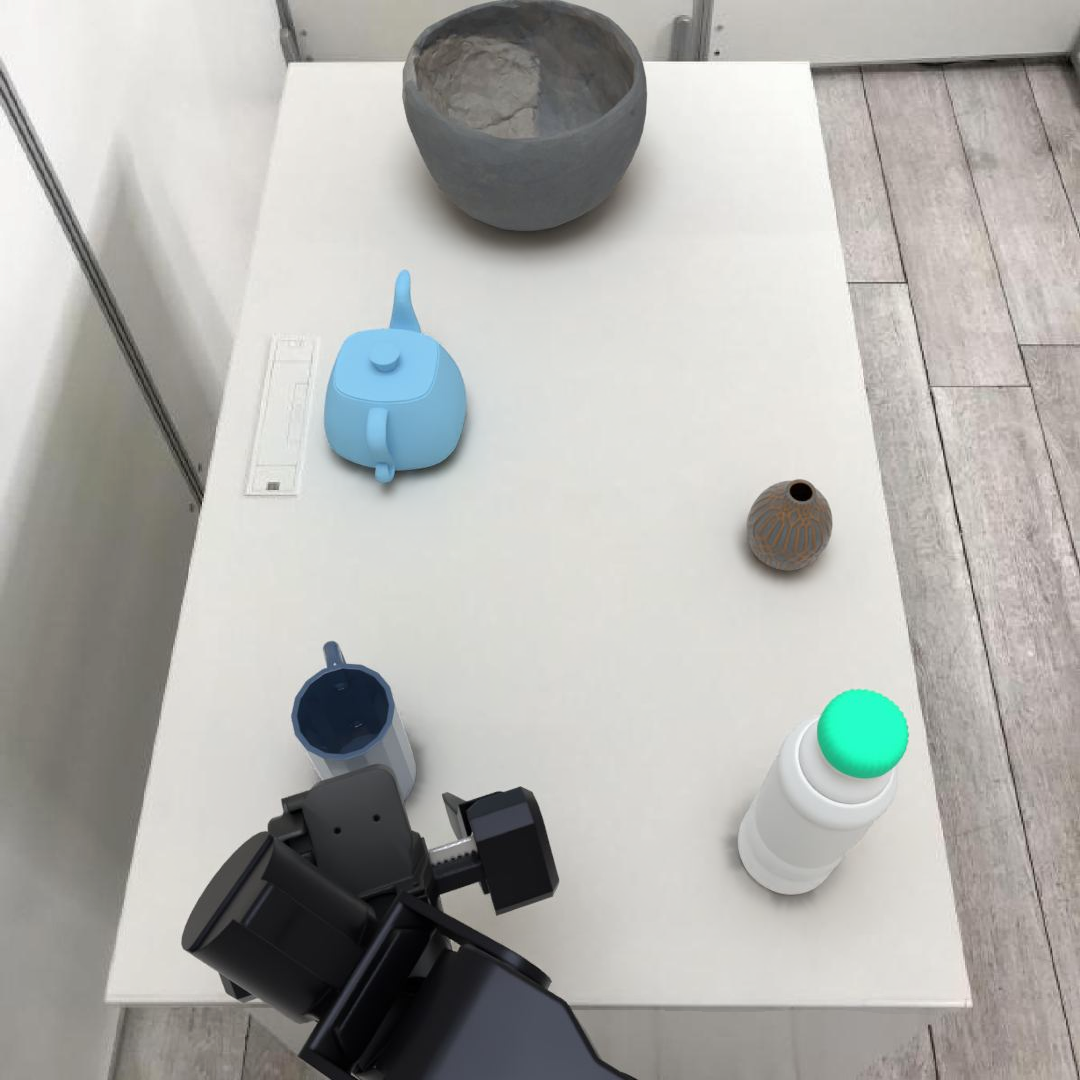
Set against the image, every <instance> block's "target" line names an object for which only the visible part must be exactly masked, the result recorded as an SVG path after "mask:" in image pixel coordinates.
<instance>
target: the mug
mask: <svg viewBox="0 0 1080 1080" xmlns="http://www.w3.org/2000/svg"><path fill="white" fill-rule="evenodd" d="M322 653H323V657H324V661H325V666H326V667H325V668H322V669H321V670H319V671H318V672H316V673H315V674H314V675H312V676H310V678H307V680H305V682H304V683H303V685H302V686H301V687H300V689H299V691H298V692H297V694H296V695H295V696H294V701H293V705H292V708H291V709H292V710H291V714H290V719H291V723H292V728H293V733H294V735H295V737H296V739H297V741H298V743H299V745H300V746H301V748H302V749H303V751H304V753H305V755H306V756H307V758H308V759H309V761H310V763H311V765H312V767H313V768H314V769H315V771H316V773H317V775H318V776H319V778H320V781H322V780H325V779H329V778H332V777H336V776H339V775H342V774H345V773H348V772H352V771H355V770H358V769H361V768H364V767H367V766H370V765H373V764H385V765H387V766H389V767H390V768H391V769H392V770H393V771H394V772H395V774H396V777H397V780H398V784H399V788H400V791H401V795H402V798H403V802H404V803H405V801H406V800H407V799H408V797H409V796H410V794H411V793H412V791H413V789H414V785H415V782H416V777H417V763H416V760H415V757H414V753H413V750H412V747H411V744H410V741H409V737H408V735H407V731H406V729H405V726H404V723H403V720H402V717H401V715H400V712H399V708H398V705H397V702H396V700H395V697H394V693H393V691H392V687H391V685H389V683H388V682H387V681H386V680H385V679H384V678H383V676H382V675H381V674H380V673H379V672H378V671H376V670H374V669H372V668H369V667H368V666H366V665H363V664H359V663H358V664H357V663H347V662H346V658H345V656H344V654H343V651H342V649H341V646H340V644H339V643H338V642H336V641H335V640H328V641H326V642H325V643H324V644H323V646H322Z"/></svg>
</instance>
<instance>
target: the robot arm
mask: <svg viewBox="0 0 1080 1080" xmlns="http://www.w3.org/2000/svg"><path fill="white" fill-rule="evenodd" d="M441 797H442V800H443V804H444V807H445V811H446V814H447V818H448V821H449V824H450V827H451V830H452V831H453V833H454V835H455V837H456V839H457V840H454V841H451V842H448V843H445V844H442V845H439V846H436V847H433V848H430V849H428V846H427V842H426V839H425V837H424V836H421V834H420V832H417V831H414V830H412V826H411V823H410V819H409V816H408V812H407V809H406V806H405V801H404V802H403V798H402V795H401V791H400V788H399V784H398V780H397V777H396V774H395V772H394V771H393V770H392V769H391V768H390V767H389V766H387V765H385V764H373V765H370V766H367V767H364V768H361V769H358V770H355V771H352V772H348V773H345V774H342V775H339V776H336V777H332V778H329V779H325V780H320V781H318V782H316V783H315V784H313V786H311V788H310V789H307V790H304V791H301V792H298V793H295V794H292V795H287V797H283V798H281V799H280V800H281V801H280V803H281V806H282V814H281V815H277V816H273V817H271V818H270V819H269V821H268V823H267V830H263V831H259V832H257V833H256V834H254V835H252V836H251V837H249V838H248V839H247V840H246V841H244V842H243V843H242V844H241V845H240V846H239V847H238V848H237V849H236V850H235V851H234V852H233V853H232V854H231V855H230V856H229V857H228V858H227V860H226V861H225V862H224V863H223V864H222V865H221V867H220V868H219V869H218V870H217V872H216V873H215V874H214V876H212V878H211V880H209V883H208V884H207V885H206V886H205V888H204V890H203V891H202V893H200V896H199V898H198V899H197V901H196V902H195V904H194V906H193V908H192V910H191V912H190V914H189V916H188V918H187V920H186V923H185V925H184V927H183V930H182V935H181V942H180V945H181V948H182V950H183V951H185V952H186V953H188V954H190V955H191V956H193V957H195V958H196V959H197V960H198V961H200V962H201V963H204V964H205V965H206V966H208V967H209V968H211V969H213V970H214V971H215V972H217V973H218V975H219V978H220V981H221V984H222V987H223V989H224V991H225V992H224V993H225V994H227V995H228V996H230V997H231V998H233V999H235V1000H236V1001H239V1002H240V1003H242V1004H245V1003H248V1002H251V1001H254V1000H257V999H258V1000H260V1001H261V1002H262V1003H264V1004H266V1005H267V1006H269V1007H270V1008H272V1009H274V1010H275V1011H277V1013H280V1014H281V1015H282V1016H284V1017H286V1018H287V1019H289V1020H290V1021H291V1022H293V1023H295V1024H298V1025H304V1024H308V1023H311V1022H315V1023H316V1025H314V1028H313V1029H312V1031H311V1033H310V1034H309V1035H308V1037H307V1039H306V1040H305V1042H304V1044H303V1046H302V1047H301V1049H300V1050H299V1052H298V1054H297V1055H296V1057H297V1058H299V1059H300V1060H302V1061H303V1062H305V1063H306V1064H308V1065H309V1066H310V1067H312V1068H313V1069H314V1070H316V1071H318V1072H319V1073H320V1074H322V1075H323V1076H324V1077H326V1078H327V1079H329V1080H639V1079H638V1078H636V1077H634V1076H633V1075H631V1074H628V1073H626V1072H623V1071H621V1070H619V1069H617V1068H615V1067H614V1066H612V1065H611V1064H610V1063H608V1062H606V1061H604V1060H603V1059H602V1057H601V1055H600V1054H599V1051H598V1050H597V1048H596V1046H595V1044H594V1043H593V1040H592V1039H591V1037H590V1035H589V1033H588V1032H587V1030H586V1028H585V1027H584V1026H583V1024H582V1022H581V1021H580V1020H579V1018H578V1016H577V1015H576V1013H575V1011H574V1010H573V1009H572V1008H571V1006H570V1005H569V1003H568V1002H567V1001H566V1000H565V999H563V998H561V997H560V996H559V995H557V994H555V993H554V992H552V991H550V990H549V988H550V986H551V984H552V982H553V980H552V979H551V978H550V976H549V975H547V973H545V972H544V971H543V970H542V969H540V967H538V966H537V965H535V963H532V962H531V961H529V960H528V959H527V958H525V957H524V956H522V955H521V954H519V953H517V952H516V951H514V950H512V949H511V948H509V947H508V946H505V945H503V944H502V943H501V942H498V941H496V940H495V939H493V938H492V937H489V936H488V935H486V934H484V933H482V932H480V931H478V930H476V929H475V928H472V927H471V926H469V925H467V924H466V923H464V922H462V921H461V920H458V919H456V918H455V917H453V916H451V915H449V914H448V913H446V912H445V911H444V907H443V902H442V898H441V895H444V894H448V893H450V892H453V891H456V890H458V889H462V888H464V887H468V886H471V885H474V884H476V883H478V886H479V888H480V889H481V891H482V893H483V895H484V896H486V895H490V900H491V903H492V907H493V909H494V913H495V916H496V917H497V916H501V915H503V914H504V915H505V914H507V913H509V912H513V911H515V910H518V909H522V908H524V907H526V906H530V905H533V904H536V903H538V902H541V901H545V900H547V899H550V898H553V897H554V895H555V893H556V891H557V889H558V887H559V884H560V877H559V873H558V870H557V866H556V861H555V857H554V854H553V850H552V847H551V844H550V839H549V836H548V831H547V828H546V824H545V820H544V818H543V814H542V810H541V808H540V805H539V802H538V801H537V798H536V796H535V794H534V792H533V791H532V790H530V789H528V788H525V787H523V786H517V787H515V788H511V789H508V790H505V791H501V790H498V791H497V790H496V791H493V792H490V793H487V794H485V795H481V796H478V797H476V798H472V799H468V800H465V799H463V798H461V797H459V796H457V795H454V794H453V793H451V792H449V791H446V792H443V793H441ZM452 942H454V943H455V944H457V945H459V947H458V949H457V951H455V950H454V949H453V946H452V945H453V944H452Z"/></svg>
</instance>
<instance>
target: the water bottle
mask: <svg viewBox="0 0 1080 1080" xmlns="http://www.w3.org/2000/svg"><path fill="white" fill-rule="evenodd" d="M907 722H908V721H907V718H906V717H905V716H904V712H903V711H902V710H901V709H900V706H899V705H896V704H895V702H894V701H893V700H890V699H889V697H888V696H885V695H883V694H882V693H881V692H878V693H877V691H875V690H869V689H868V688H865V689H862V688H857V689H854V688H851V689H849V690H844V691H842V692H841V693H839V694H837V695H835V697H834V698H832V699H830V701H829V703H827V705H826V706H825V707H824V709H823V710H822V712H821V713H818V714H814V715H811V716H809V717H807V718H805V719H803V720H802V721H800V722H798V723H797V724H796V725H795V726H794V727H793V728H792V729H790V730H789V732H788V734H787V735H786V736H785V737H784V739H783V741H782V743H781V745H780V748H779V750H778V754H777V755H776V757H775V758H774V760H773V762H772V763H771V765H770V767H769V768H768V770H767V773H766V775H765V777H764V779H763V781H762V784H761V786H760V788H759V790H758V792H757V793H756V794H755V796H754V798H753V800H752V802H751V804H750V807H749V809H748V810H747V812H746V813H745V814H744V817H743V819H742V820H741V823H740V826H739V829H738V833H737V848H738V853H739V857H740V860H741V862H742V865H743V866H744V868H745V870H746V871H747V873H748V874H749V875H750V876H751V877H752V879H754V880H755V881H756V882H757V883H758V884H759V885H760V886H762V887H764V888H766V889H767V890H770V891H771V892H774V893H777V894H780V895H781V894H782V895H792V896H793V895H802V894H805V893H809V892H811V891H812V890H814V889H816V888H817V887H819V886H820V885H821V884H822V883H823V882H825V881H826V879H827V878H828V877H829V876H830V875H831V873H832V871H833V870H834V869H835V868H836V867H837V866H838V865H839V864H840V863H841V862H842V861H843V860H844V858H845V856H846V854H847V853H849V852H850V851H851V850H852V849H853V848H854V847H855V846H856V845H857V844H858V843H859V842H860V840H861V839H863V837H864V836H865V835H866V834H867V832H868V831H869V830H870V829H871V827H872V826H873V825H874V823H875V822H876V821H877V820H879V819H880V818H881V817H882V816H883V815H884V814H885V813H886V812H887V811H888V809H889V808H890V806H891V805H892V803H893V802H894V799H895V796H896V794H897V792H898V791H897V790H898V786H899V768H898V764H899V762H900V761H901V760H902V759H903V757H904V755H905V754H906V752H907V749H908V744H909V738H910V732H909V725H908V724H907Z"/></svg>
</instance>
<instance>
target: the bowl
mask: <svg viewBox="0 0 1080 1080" xmlns="http://www.w3.org/2000/svg"><path fill="white" fill-rule="evenodd" d="M647 83H648V82H647V75H646V70H645V66H644V61H643V59H642V56H641V54H640V51H639V50H638V47H637V46H636V44H635V43H634V41H633V39H631V38H630V36H629V35H628V34H627V33H626V32H625V31H624V30H623V29H622V27H620V25H618V24H617V23H616V22H615V21H614V20H613V19H611V18H610V17H609V16H607V15H605V14H603V13H601V12H599V11H596V10H593V9H590V8H588V7H586V6H582V5H578V4H575V3H571V2H568V1H565V0H491V1H487V2H484V3H479V4H476V5H471V6H468V7H466V8H464V9H462V10H460V11H457V12H454V13H452V14H451V15H448V16H445V17H443V18H442V19H439V21H436V22H434V23H432V24H431V25H429V26H427V27H426V28H424V30H423V31H422V32H421V33H420V34H419V35H418V36H417V37H416V39H415V40H414V41H413V43H412V45H411V47H410V49H409V51H408V54H407V56H406V60H405V62H404V64H403V68H402V91H401V92H402V93H401V98H402V103H403V109H404V114H405V119H406V122H407V125H408V128H409V130H410V132H411V135H412V138H413V139H414V142H415V145H416V147H417V149H418V152H419V154H420V156H421V158H422V161H423V162H424V164H425V165H426V168H427V170H428V172H429V174H430V176H431V177H432V179H433V181H434V182H435V183H436V185H437V186H438V188H439V189H440V190H441V192H442V193H443V194H444V195H445V196H446V197H447V199H449V200H450V201H451V202H452V203H453V204H454V205H455V206H456V207H458V209H459V210H461V211H463V212H464V213H465V214H466V215H468V216H470V217H471V218H473V219H475V220H477V221H480V222H482V223H485V224H486V225H489V226H493V227H495V228H498V229H502V230H507V231H517V232H535V231H543V230H548V229H552V228H556V227H559V226H562V225H563V224H566V223H568V222H572V221H573V220H575V219H578V218H580V217H582V216H583V215H585V214H586V213H588V212H590V211H592V210H593V209H595V208H597V206H599V205H600V204H601V203H603V202H604V201H606V199H608V197H609V196H610V195H611V194H612V192H613V191H614V190H615V189H616V187H617V186H618V185H619V184H620V181H621V180H622V179H623V177H624V175H625V173H626V172H627V171H628V168H629V166H630V164H631V163H632V161H633V158H634V156H635V155H636V152H637V150H638V148H639V146H640V142H641V139H642V136H643V133H644V129H645V124H646V123H645V122H646V116H647V107H648V106H647V105H648V85H647Z"/></svg>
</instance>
